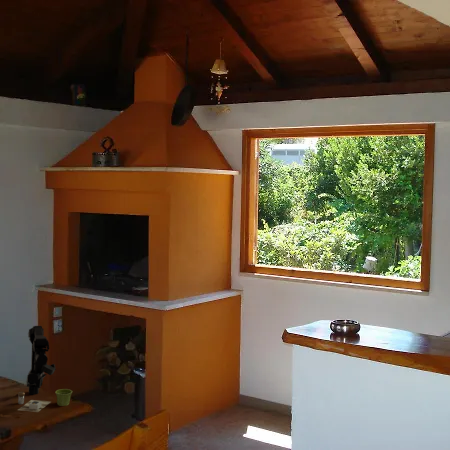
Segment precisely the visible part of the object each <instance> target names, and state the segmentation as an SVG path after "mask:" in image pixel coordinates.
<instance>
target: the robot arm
mask: <svg viewBox="0 0 450 450" xmlns="http://www.w3.org/2000/svg"><path fill="white" fill-rule="evenodd" d="M27 335H28V336H27V337H28V339H29V342H30V344H31V360H30V361H31V365H30V370H29V372H28V374H27V376H26V381H25V382H26V383H25V385H26V387H27V388H28V396H35V395H38V394H39V389H40V388H41V387H42V386H43V381H44V378H45V377H46V376H48V375H49V376H53V374H54V373H55V371H56V364H55V363H52V364H48V356H47V354H46V352H49V350H50V342H49V340H48V339H47V337H46V336H44V335H45V331H44V328H43V326H42V325H33V326H32V327H31V328H29V329H28V333H27Z"/></svg>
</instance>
